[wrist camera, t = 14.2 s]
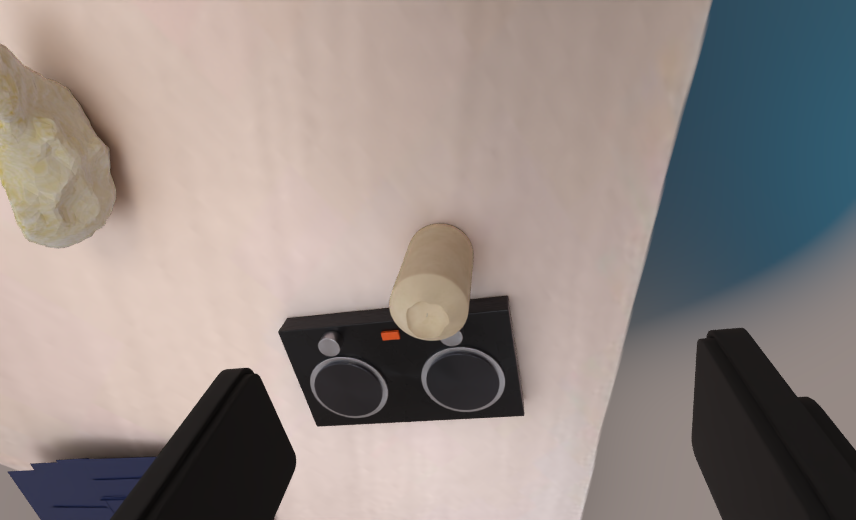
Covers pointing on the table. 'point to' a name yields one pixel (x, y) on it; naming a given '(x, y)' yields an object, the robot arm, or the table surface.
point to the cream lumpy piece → (50, 159)
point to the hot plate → (405, 367)
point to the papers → (80, 486)
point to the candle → (433, 284)
